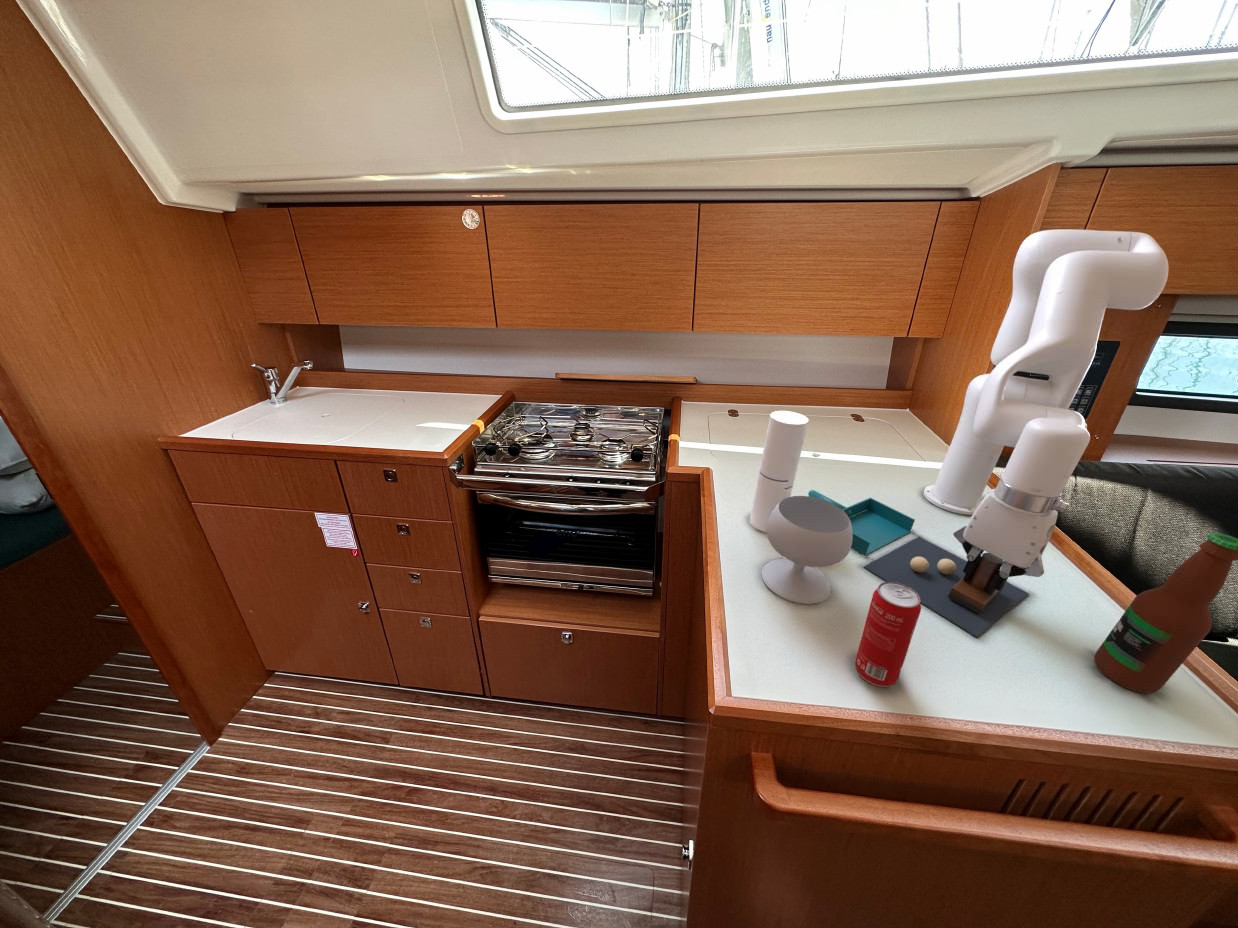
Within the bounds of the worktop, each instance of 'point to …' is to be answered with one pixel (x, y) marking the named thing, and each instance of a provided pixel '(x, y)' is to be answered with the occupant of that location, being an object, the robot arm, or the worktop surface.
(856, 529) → the dustpan
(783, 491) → the cylindrical container
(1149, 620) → the bottle
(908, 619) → the beverage can
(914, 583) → the mat
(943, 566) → the crumb
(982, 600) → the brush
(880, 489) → the worktop surface
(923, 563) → the crumb
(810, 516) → the chalice
